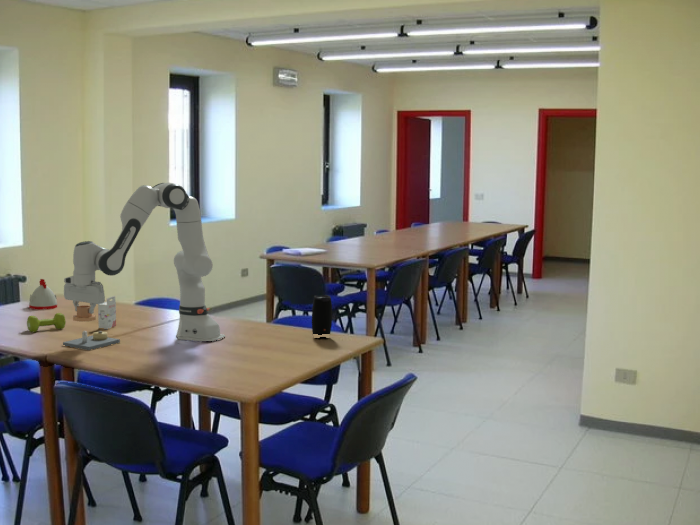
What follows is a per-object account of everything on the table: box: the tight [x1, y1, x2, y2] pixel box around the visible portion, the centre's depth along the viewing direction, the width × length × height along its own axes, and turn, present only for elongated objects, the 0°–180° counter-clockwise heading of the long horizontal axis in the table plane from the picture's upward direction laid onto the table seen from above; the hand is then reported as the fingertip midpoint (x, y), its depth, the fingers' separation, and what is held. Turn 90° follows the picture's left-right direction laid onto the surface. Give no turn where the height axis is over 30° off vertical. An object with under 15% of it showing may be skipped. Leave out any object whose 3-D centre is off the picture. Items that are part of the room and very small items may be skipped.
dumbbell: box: [26, 312, 67, 333], centre depth 378 cm, size 16×8×7 cm, turn 131°
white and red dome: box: [28, 278, 58, 311], centre depth 432 cm, size 14×14×15 cm
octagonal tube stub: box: [72, 304, 96, 322], centre depth 347 cm, size 9×9×6 cm
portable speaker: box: [311, 294, 333, 335], centre depth 379 cm, size 9×9×20 cm
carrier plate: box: [62, 330, 121, 351], centre depth 352 cm, size 15×18×6 cm
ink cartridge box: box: [97, 295, 117, 330], centre depth 387 cm, size 9×5×15 cm, turn 168°
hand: (84, 312), depth 347 cm, fingers closed on octagonal tube stub, 6 cm apart
